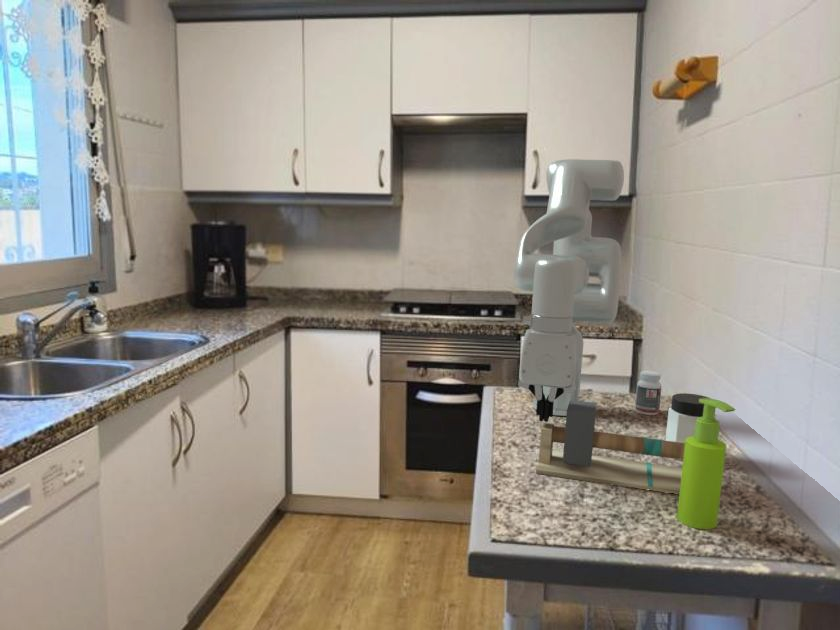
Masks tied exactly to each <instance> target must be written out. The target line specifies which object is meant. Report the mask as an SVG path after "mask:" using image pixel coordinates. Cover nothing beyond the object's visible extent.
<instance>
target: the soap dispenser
mask: <svg viewBox="0 0 840 630" xmlns="http://www.w3.org/2000/svg"><path fill="white" fill-rule="evenodd" d="M699 402H700V403H703V404H704V409H703V416H702V417H700V418H697V420H696V428H695V436H691V437H687V438H686V440H685V449H684V458H683V461H682V467H681V468H682V476H681V485H680V494H679V495H678V502H677V503H678V504H677V515H676V519H677V518H678V519H677V520H678V521H679V522H680V523H681V522H682V524H683V525H684V526H687V527H690V528H694V529H696V530H697V529H699V530H713V529H716V527H717V525H718V517H719V510H720V503H721V502H720V501H721V492H722V484H723V477H724V476H723V475H724V469H725V468H724V467H725V460H726V451H727V444H726V443H724V442H723V441H722V440H719V435H720V434H719V433H720V427H721V425H720V424H721V422H720V420H718V419H717V418H716V419H715V415H716V410H717V409H718V410H720V411H722V412H723V413H729V412H730V413H731V412H734V411H736V409H735V408H734V407H733V406H732V405H730V404H729V403H727V402H724V401H721V400H718V399H714V398H711V397H709V398H701V399H699Z"/></svg>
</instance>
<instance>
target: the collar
mask: <svg viewBox="0 0 840 630" xmlns="http://www.w3.org/2000/svg"><path fill="white" fill-rule="evenodd" d="M596 412H597V402H593V401H592V402H591V401H583V400H582V401H581V400H579V401H576V400H570V402H569V405H568V408H567V415H566V416H565V427H566V428H565V440H564V443H563V444H564V445H563V451H564V452H563V463H569V464H576V465H582V466H589V467H590V466H591V459H592V455H593V452H594V451H593V450H594V449H593V448H594V447H592V445H593V434H594V431H595V428H596V427H595V425H596V417H597V416H596V415H597V413H596Z"/></svg>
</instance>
